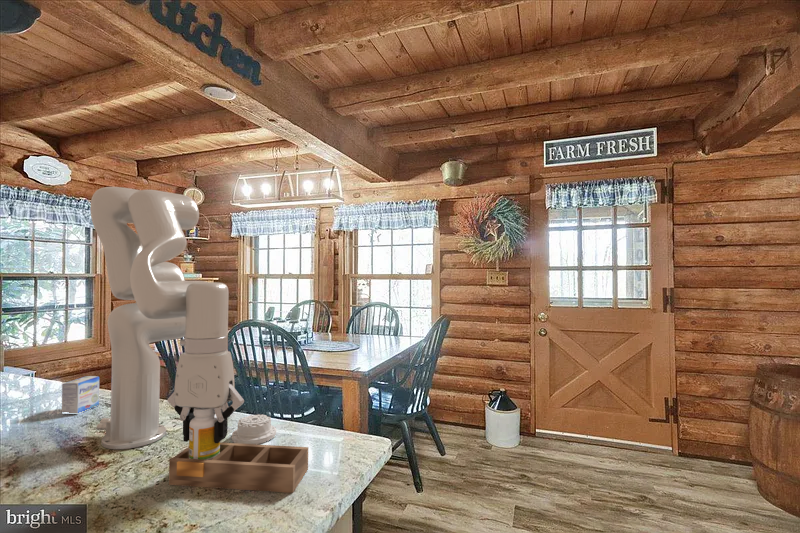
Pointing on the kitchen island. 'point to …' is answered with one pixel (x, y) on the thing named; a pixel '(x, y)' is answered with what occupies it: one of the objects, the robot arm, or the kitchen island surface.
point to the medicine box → (80, 394)
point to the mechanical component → (254, 430)
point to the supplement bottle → (203, 435)
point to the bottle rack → (243, 468)
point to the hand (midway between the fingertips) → (205, 438)
